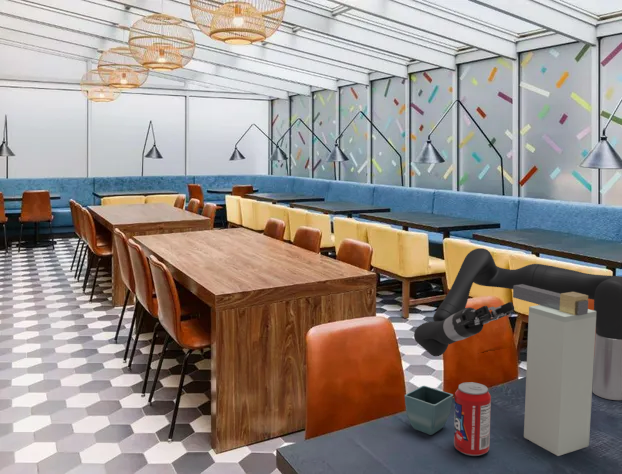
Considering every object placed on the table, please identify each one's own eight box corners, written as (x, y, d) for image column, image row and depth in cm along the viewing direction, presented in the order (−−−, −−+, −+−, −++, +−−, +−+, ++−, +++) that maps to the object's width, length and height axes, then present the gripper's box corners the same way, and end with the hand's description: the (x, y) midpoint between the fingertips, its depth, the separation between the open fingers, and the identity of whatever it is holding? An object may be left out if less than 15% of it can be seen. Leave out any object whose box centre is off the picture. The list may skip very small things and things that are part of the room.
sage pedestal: (553, 428, 143) (559, 301, 139) (588, 446, 134) (596, 311, 130) (523, 437, 139) (529, 306, 134) (558, 456, 130) (564, 316, 125)
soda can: (487, 461, 128) (489, 396, 126) (451, 454, 131) (452, 391, 129) (490, 445, 135) (492, 383, 133) (456, 439, 138) (457, 378, 136)
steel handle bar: (523, 295, 145) (524, 280, 144) (589, 313, 128) (590, 295, 128) (511, 297, 143) (512, 281, 143) (576, 315, 126) (577, 297, 126)
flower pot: (453, 428, 144) (454, 394, 142) (434, 441, 137) (435, 405, 136) (422, 418, 150) (423, 384, 148) (403, 430, 143) (403, 395, 142)
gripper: (486, 334, 165) (525, 318, 151) (446, 341, 159) (483, 325, 145) (478, 308, 168) (515, 290, 154) (438, 315, 161) (473, 296, 148)
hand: (499, 307), depth 150 cm, fingers open, 8 cm apart
